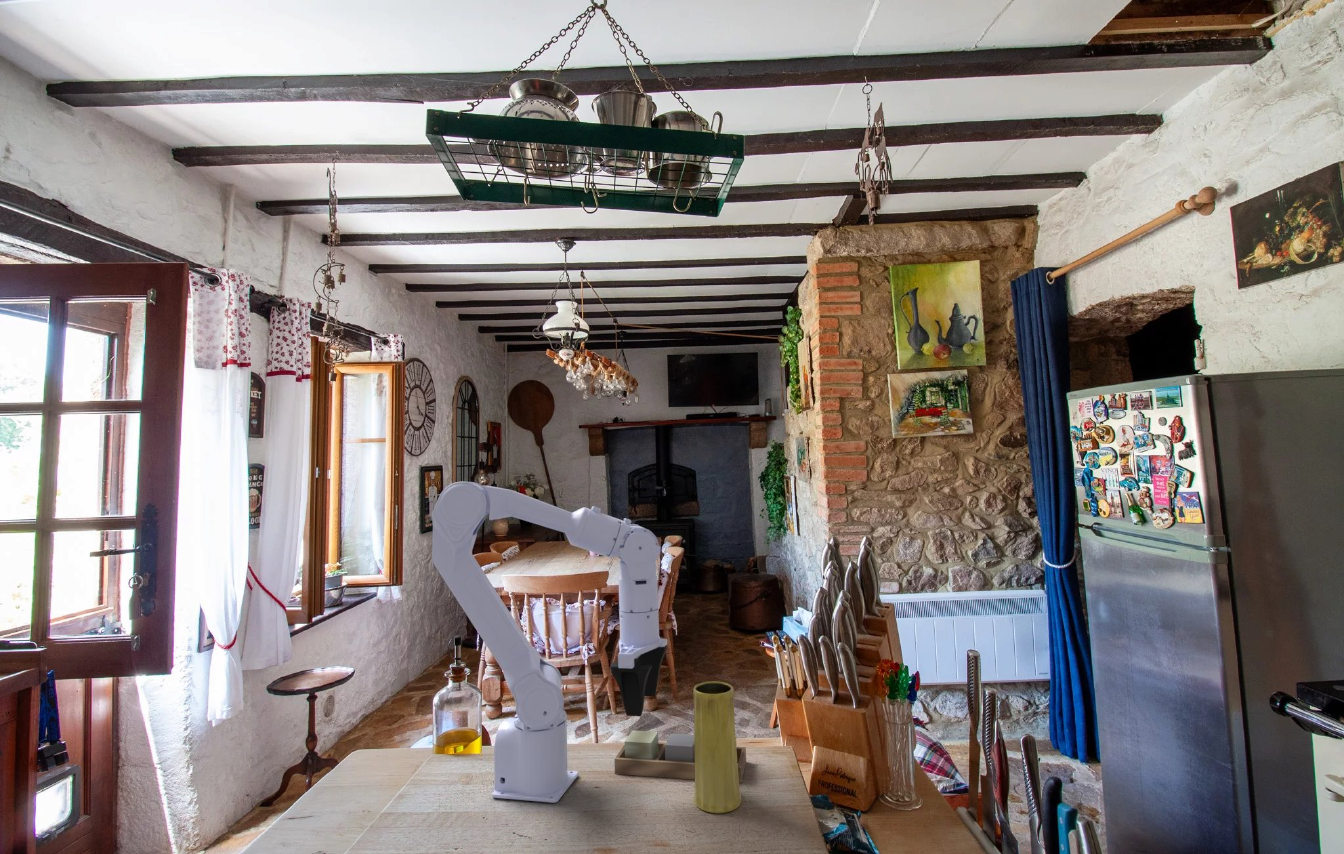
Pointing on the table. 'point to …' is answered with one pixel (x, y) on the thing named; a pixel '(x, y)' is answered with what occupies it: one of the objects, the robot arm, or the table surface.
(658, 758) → the walnut rack
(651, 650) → the robot arm
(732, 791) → the vase
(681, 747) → the grey block
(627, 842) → the table surface
